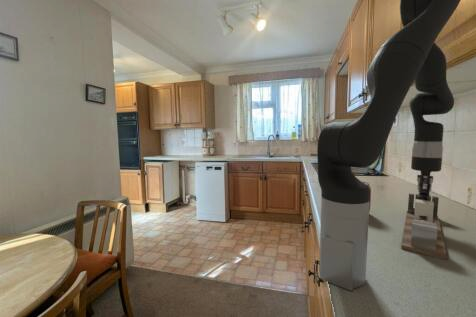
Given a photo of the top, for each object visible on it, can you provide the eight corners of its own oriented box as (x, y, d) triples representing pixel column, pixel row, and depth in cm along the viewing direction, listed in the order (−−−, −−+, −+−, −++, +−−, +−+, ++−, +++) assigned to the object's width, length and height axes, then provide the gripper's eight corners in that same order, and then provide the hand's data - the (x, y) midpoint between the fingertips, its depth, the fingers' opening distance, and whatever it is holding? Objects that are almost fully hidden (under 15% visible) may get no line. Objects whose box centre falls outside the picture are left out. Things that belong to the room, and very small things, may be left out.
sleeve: (432, 226, 69) (433, 204, 68) (413, 223, 71) (415, 201, 71) (431, 222, 72) (433, 201, 71) (414, 219, 75) (415, 199, 74)
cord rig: (446, 259, 56) (449, 227, 55) (401, 248, 61) (402, 219, 60) (437, 218, 83) (439, 196, 82) (406, 213, 88) (408, 192, 88)
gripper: (444, 157, 66) (439, 216, 67) (440, 154, 76) (436, 205, 78) (411, 156, 70) (407, 211, 72) (412, 153, 81) (409, 201, 82)
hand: (422, 208), depth 75 cm, fingers closed
